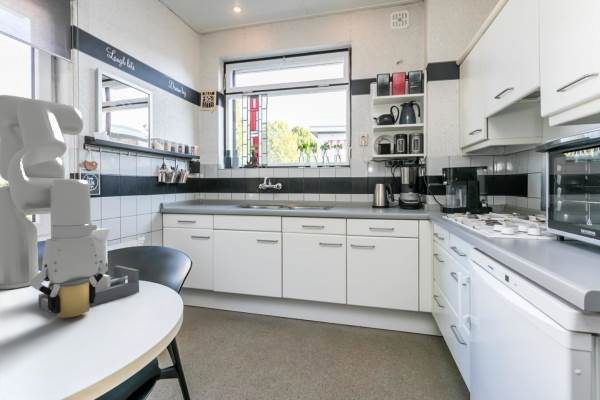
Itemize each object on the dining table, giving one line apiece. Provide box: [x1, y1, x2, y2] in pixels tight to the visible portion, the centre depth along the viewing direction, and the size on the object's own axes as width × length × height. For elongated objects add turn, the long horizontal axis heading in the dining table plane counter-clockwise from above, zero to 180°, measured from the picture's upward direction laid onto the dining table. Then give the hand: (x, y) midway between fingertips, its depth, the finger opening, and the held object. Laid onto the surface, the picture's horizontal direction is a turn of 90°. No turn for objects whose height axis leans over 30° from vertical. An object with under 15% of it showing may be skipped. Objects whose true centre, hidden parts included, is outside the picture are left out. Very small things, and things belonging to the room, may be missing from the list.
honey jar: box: [55, 277, 90, 319], centre depth 72 cm, size 7×7×8 cm
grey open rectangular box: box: [38, 265, 140, 315], centre depth 85 cm, size 11×20×6 cm, turn 149°
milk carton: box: [91, 227, 111, 275], centre depth 95 cm, size 9×9×20 cm
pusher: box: [95, 274, 128, 291], centre depth 90 cm, size 8×8×6 cm
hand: (72, 306), depth 72 cm, fingers closed on honey jar, 6 cm apart
